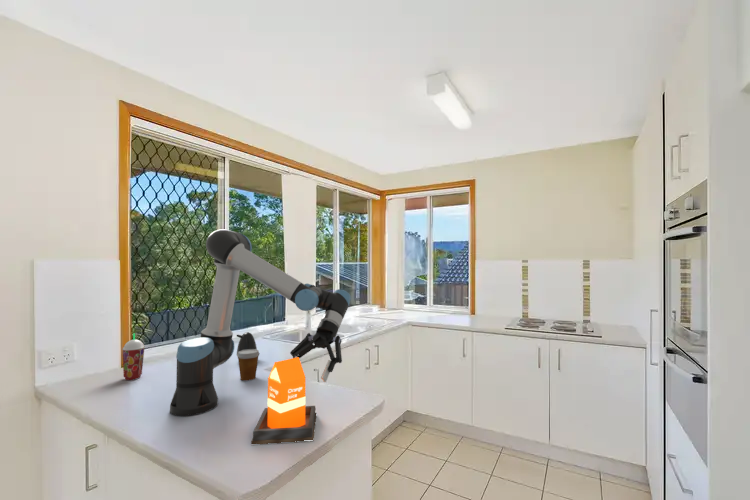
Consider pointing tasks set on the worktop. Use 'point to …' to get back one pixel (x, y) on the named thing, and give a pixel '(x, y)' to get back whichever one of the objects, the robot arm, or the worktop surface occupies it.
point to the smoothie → (133, 359)
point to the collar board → (284, 429)
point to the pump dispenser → (246, 342)
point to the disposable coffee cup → (248, 363)
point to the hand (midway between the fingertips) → (306, 377)
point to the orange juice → (286, 394)
